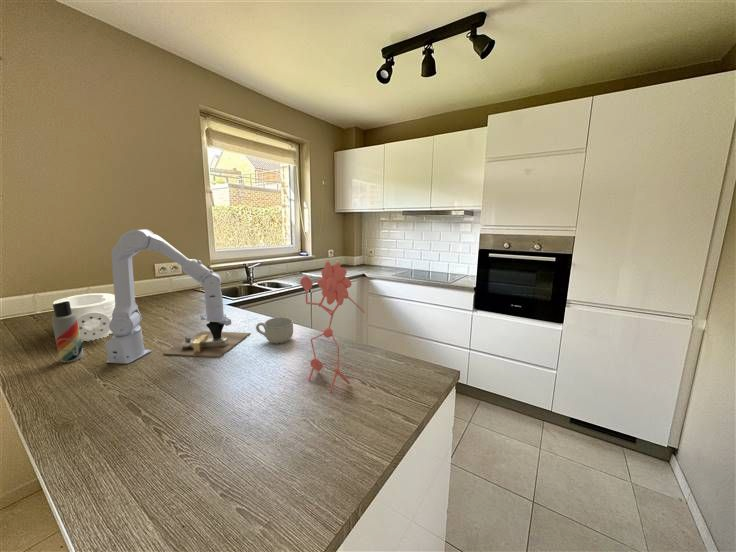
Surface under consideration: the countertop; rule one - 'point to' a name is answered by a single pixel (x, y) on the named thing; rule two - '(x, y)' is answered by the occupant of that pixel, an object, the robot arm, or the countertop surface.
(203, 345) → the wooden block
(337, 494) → the countertop surface
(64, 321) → the lotion bottle
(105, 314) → the housing
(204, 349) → the walnut board
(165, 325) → the countertop surface
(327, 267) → the figurine
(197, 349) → the brass keeper
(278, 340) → the teacup
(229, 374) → the countertop surface
